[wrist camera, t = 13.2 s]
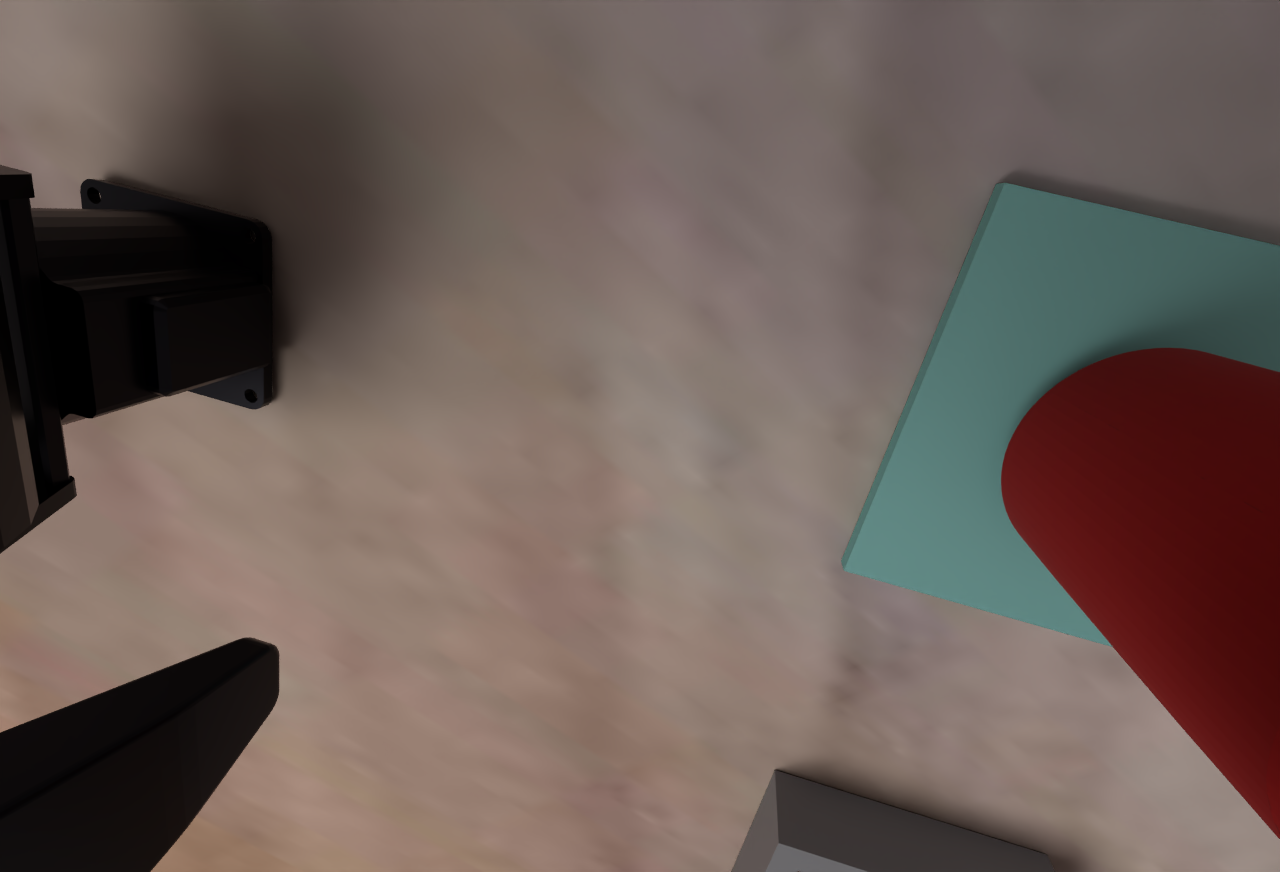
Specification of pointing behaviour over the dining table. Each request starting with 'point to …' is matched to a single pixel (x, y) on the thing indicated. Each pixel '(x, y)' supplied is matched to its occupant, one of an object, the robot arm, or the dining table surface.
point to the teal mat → (1042, 380)
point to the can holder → (865, 837)
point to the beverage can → (1169, 537)
